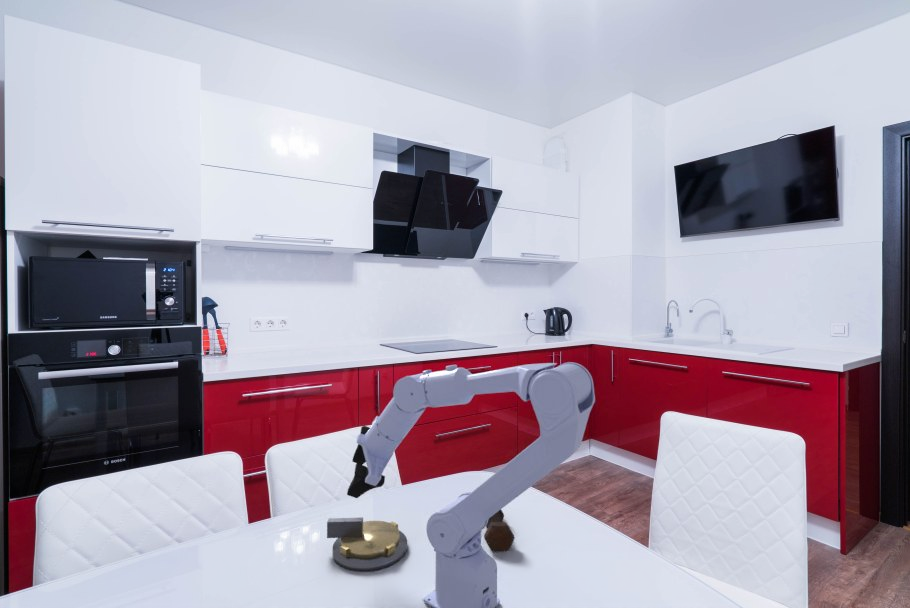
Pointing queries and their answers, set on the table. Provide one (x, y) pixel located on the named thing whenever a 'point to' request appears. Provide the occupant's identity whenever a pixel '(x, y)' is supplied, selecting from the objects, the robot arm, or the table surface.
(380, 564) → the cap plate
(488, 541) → the bolt
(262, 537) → the table surface
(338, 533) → the tabbed brass dial
